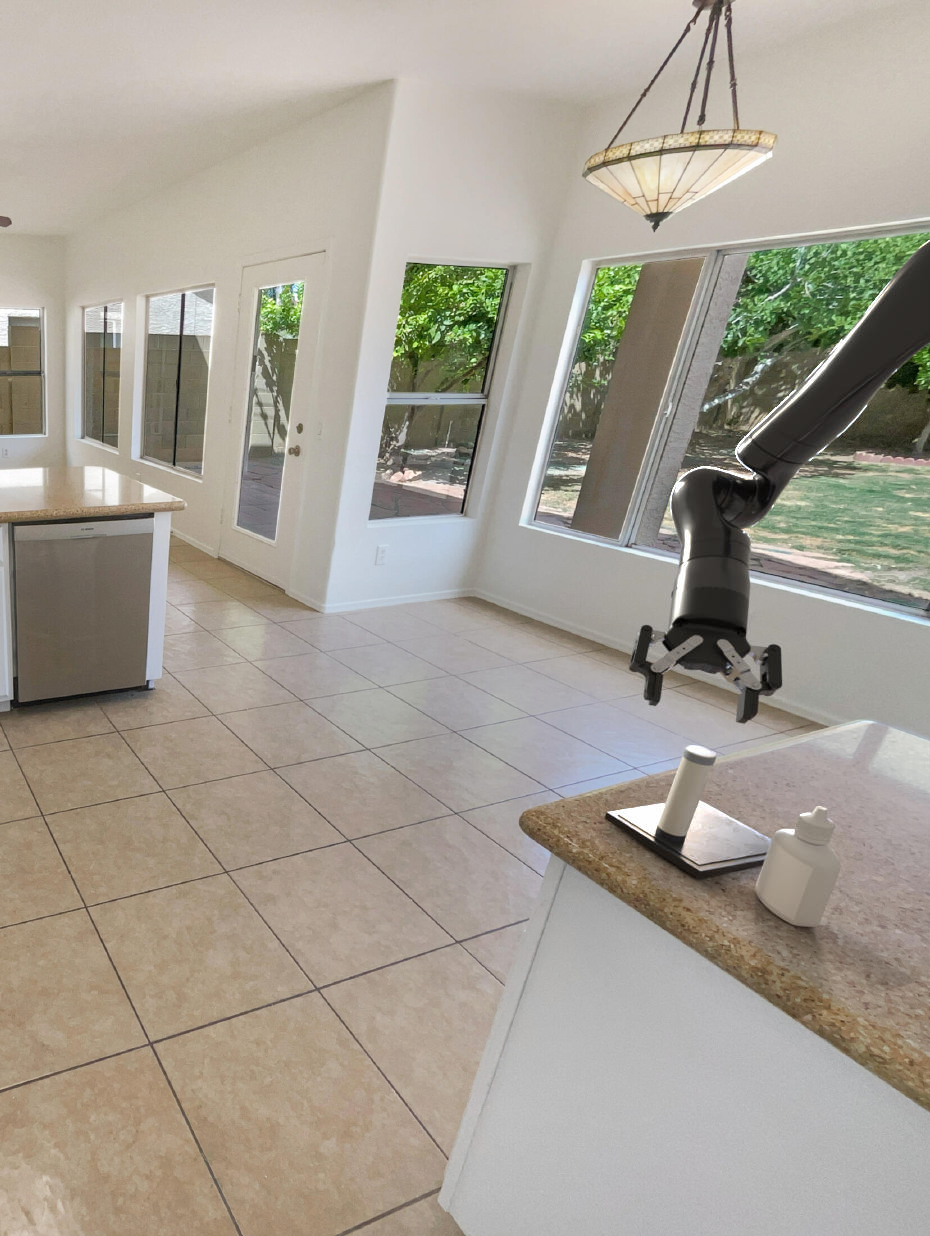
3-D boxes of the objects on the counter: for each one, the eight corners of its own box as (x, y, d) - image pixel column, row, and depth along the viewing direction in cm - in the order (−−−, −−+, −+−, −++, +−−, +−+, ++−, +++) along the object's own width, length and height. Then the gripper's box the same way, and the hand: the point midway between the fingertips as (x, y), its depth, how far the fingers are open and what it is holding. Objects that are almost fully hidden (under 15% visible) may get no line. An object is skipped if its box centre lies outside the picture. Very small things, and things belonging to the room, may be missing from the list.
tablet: (693, 804, 87) (696, 797, 87) (795, 861, 77) (798, 852, 77) (604, 818, 84) (606, 811, 84) (697, 879, 74) (700, 870, 74)
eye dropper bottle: (757, 916, 69) (794, 814, 65) (752, 884, 73) (786, 787, 69) (819, 935, 67) (861, 830, 62) (810, 901, 71) (849, 801, 67)
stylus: (667, 826, 81) (698, 743, 77) (690, 840, 79) (723, 755, 75) (649, 829, 80) (679, 746, 77) (672, 843, 78) (704, 758, 74)
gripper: (650, 576, 91) (634, 686, 85) (796, 594, 84) (790, 715, 78) (633, 604, 97) (618, 709, 91) (769, 623, 90) (761, 737, 84)
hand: (697, 712), depth 85 cm, fingers open, 8 cm apart
